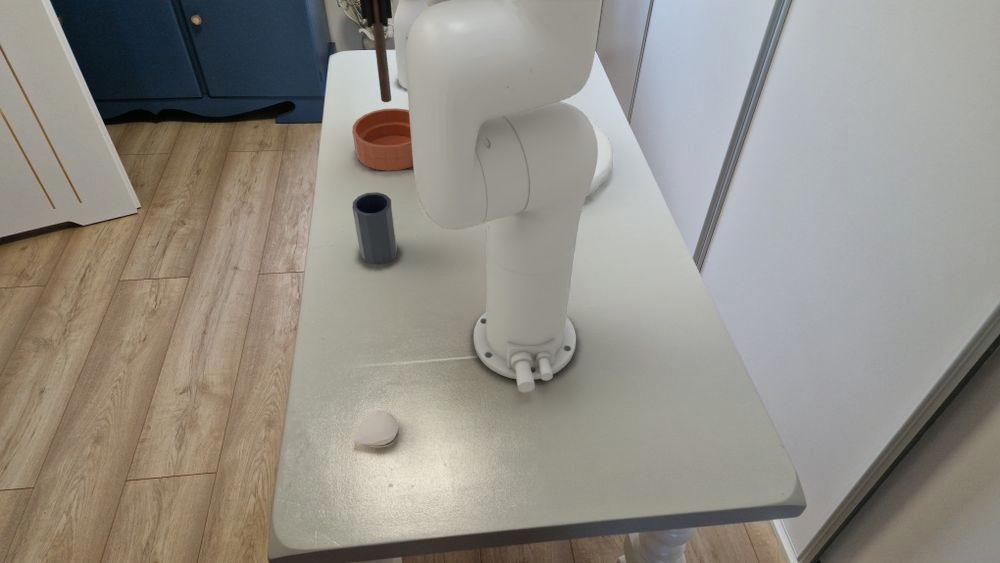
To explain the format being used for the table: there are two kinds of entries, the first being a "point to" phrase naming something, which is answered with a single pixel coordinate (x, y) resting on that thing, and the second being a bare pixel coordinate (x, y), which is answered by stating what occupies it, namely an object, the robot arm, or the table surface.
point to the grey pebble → (377, 430)
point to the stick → (380, 50)
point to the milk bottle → (405, 32)
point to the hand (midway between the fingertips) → (377, 22)
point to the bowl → (384, 139)
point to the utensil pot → (375, 228)
